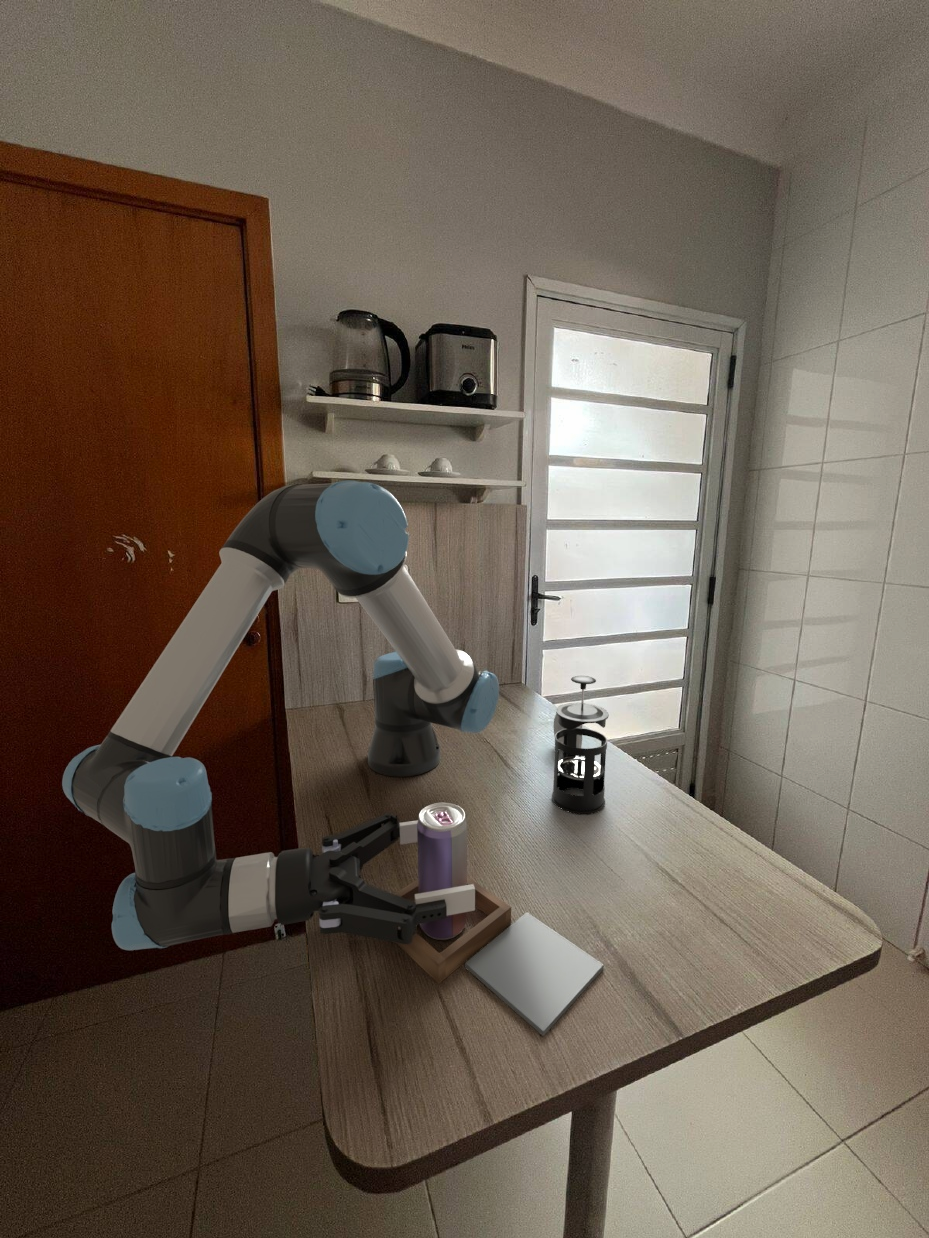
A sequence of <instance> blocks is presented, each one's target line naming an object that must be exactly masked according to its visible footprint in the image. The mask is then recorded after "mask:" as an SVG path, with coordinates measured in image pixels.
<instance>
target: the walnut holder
mask: <svg viewBox="0 0 929 1238" xmlns="http://www.w3.org/2000/svg"><path fill="white" fill-rule="evenodd" d="M471 884H473V885H474V887H475V908H477V909H478V910H480V911H481V912H482V913H484V914H485V915H486V917H485V918H483V919H482V920H481V921H480V922H478V923H477V924H476V925H475V926H473V927H472V928H470V929H469V930H467V932H465V933H464V934H462V935H461V936H460V937H458V939H456V940H455V941H453V942H452V943H451V944H450V945H448V946H447V947H446V948H445V949H443V950H442V951H441V952H438V951H437V950H436V949H435V948H434V947H433V946H432V945H431V944H429V943H428V942H427V941H426V940H425V939H424V938H423V937H422V936H421V935H419V934H418V933H417V932H416V933H415V934H414V935H413V939H412V942H411V943H409V944H401V943H396V944H397V945H398V946H399V948H401V949H402V950H403V951H404V952H405V953H406V954H407V955H408V956H409V957H410V958H411V959H412V960H413V961H415V963H416V964H417V965H419V967H420V968H421V969H423V970H424V971H425V973H427V974H428V975H429V976H430V977H431V978H432V979H433V980H434V981H435V982H436V983H437V984H441V983H442V982H443V981H445V980H446V978H448V977H449V976H450V975H452V974H453V973H454V972H455V971H456V970H458V969H459V968H460V967H461V966H462V965H465V963H466V962H467V961H468V960H469V959H470V958H472V957H473V956H474V955H475V954H477V953H478V952H479V951H480V950H481V949H483V948H484V947H485V946H486V945H487V944H489V943H490V942H491V941H492V940H494V939H495V938H496V937H497V936H498V935H500V934H501V933H502V932H503V931H504V930H506V929H507V928H508V927H509V926H511V925H512V906H511V905H509V904H508V903H506V902H505V901H504V900H502V899H501V898H499V897H498V896H496V895H495V894H493V893H492V892H491V891H489V890H488V889H486V888H485V887H484V886H482V885H480V884H479V883H478V882H476V881H475V880H474V879H472V878H471V877H469V876H468V875H467V885H471ZM393 894H394V895H397V896H400V897H402V898H405V899H408V900H410V901H413V902H415V894H419V892H418V878H417V879H416V880H414V881H412V882H411V883H409V884H408V885H406V886H404V887H403V888H401V889H400V890H398V891H396V892H395V893H393ZM398 929H399V930H400V927H398Z"/></svg>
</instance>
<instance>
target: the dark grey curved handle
mask: <svg viewBox="0 0 929 1238" xmlns="http://www.w3.org/2000/svg"><path fill="white" fill-rule="evenodd" d="M555 713H556V712H555ZM577 728H580V726H579V727H577ZM563 729H564V728H563V727H562V726H561V725H559V723H558V715H557V713H556V714H555V715H554V717H553V735H554V737H555V734H556V733H557V732H558V731H560V730H563ZM558 741H560V742H561V743H563V744H564V736H563V737H561V738H559V739H558ZM579 746H580V735H577V740H576V748H579ZM561 753H563V751H561Z"/></svg>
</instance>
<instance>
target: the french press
mask: <svg viewBox="0 0 929 1238" xmlns="http://www.w3.org/2000/svg"><path fill="white" fill-rule="evenodd" d="M570 680H571V681H572V683H576V684H580V686H579V687H580V690H581V702H567V703H564V704H560V705H558V706H557V707H556V708H555V713H557V715H558V723H559V725H561V726H562V727H563V728H564V729H563V730H560V731H558V732H557V733H556V734H555V736H554V757H553V758H554V759H553V760H554V762H553V763H554V764H553V781H552V782H553V784H552V785H553V786H552V787H553V788H552V789H553V790H552V793H551V800H553V801H552V802H554V803H555V804H556V805H557V806H558V807H560V808H562V809H563V810H562V809H561V810H562V811H564V810H565V811H564V812H566V811H569V812H568V813H570V812H571V813H570V814H574V813H575V814H574V815H581V814H587V815H592V814H591V813H593V814H596V813H595V812H597V811H599V812H601V811H602V810H603V809H604V808H603V807H605V806H604V805H605V804H606V799H605V788H606V787H605V776H606V775H605V774H606V773H605V772H606V760H607V759H606V758H607V757H606V756H607V748H608V738H607V737H606V735H604V734H603V733H601V732H599V731H596V730H593V729H589V728H583V725H586V724H598V725H599V726H600V727H602V728H606V720H608V718H609V711H608V710H607V709H606V708H604V707H602V706H600V705H599V706H598V705H597V704H596V705H595V704H592V703H584V699H585V690H586V689H587V685H592V684H595V683H596V682H597V679H596V678H594V677H592V676H588V675H576V676H573V677H571V678H570ZM579 726H580V728H577V727H579ZM577 735H580V746H579V748H576V740H577ZM563 736H564V744H563V743H561V742H560V741H558V739H559V738H561V737H563ZM583 736H584V737H585V736H587V737H590V738H594V739H596V740H598V741H600V743H601V744H600V746H597V747H593V748H590V747H589V748H582V745H583ZM562 751H563V752H562ZM560 752H562V758H561V759H559V757H560V755H559V754H560ZM596 756H600V760H599V761H600V762H598V761H596ZM572 789H573V790H582V795H579V794H572V793H568V792H566V791H567V790H572ZM554 803H553V804H554ZM555 804H554V805H555ZM556 805H555V806H556ZM557 806H556V807H557ZM558 807H557V808H558ZM560 808H559V809H560ZM602 808H603V809H602ZM601 809H602V810H601ZM600 810H601V811H600ZM597 813H598V812H597Z"/></svg>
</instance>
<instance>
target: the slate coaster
mask: <svg viewBox="0 0 929 1238" xmlns="http://www.w3.org/2000/svg"><path fill="white" fill-rule="evenodd" d="M464 968H465V969H466V970H467V971H468V972H469V973H470V974H472V975H473V977H475V978H476V979H477V980H479V981H480V982H481V983H482V984H483V985H484V986H486V987H487V988H488V989H489V990H490V991H491V992H492V993H494V994H495V996H497V997H498V998H499V999H500V1000H501V1001H502V1002H503V1003H504V1004H506V1006H509V1008H511V1010H513V1011H514V1012H515V1013H516V1014H517V1015H518V1016H520V1017H521V1018H522V1019H523V1020H524V1021H526V1023H527V1024H529V1025H530V1026H531V1027H532V1028H533V1029H534V1030H535V1031H537V1032H538V1034H539V1035H541V1036H542V1037H545V1036H546V1034H547V1033H548V1032H549V1031H550V1030H551V1028H552V1027H554V1025H555V1024H556V1023H557V1022H558V1021H559V1020H560V1018H561V1017H562V1016H563V1015H564V1014H565V1013H566V1012H567V1011H568V1009H569V1008H570V1007H571V1006H572V1005H573V1004H574V1003H575V1002H576V1000H577V999H578V998H579V997H580V996H581V995H582V994H583V993H584V991H585V990H586V989H587V988H588V987H589V986H590V985H591V983H592V982H594V981H595V979H596V978H597V977H598V976H599V975H600V974H601V972H602V971H604V964H603V963H602V962H600V961H599V960H597V959H596V958H595V957H593V956H592V955H591V954H589V953H588V952H586V951H584V950H583V949H582V948H580V947H579V946H577V945H575V944H574V943H573V942H571V941H570V940H568V939H567V938H565V937H564V936H563V935H561V934H559V933H558V932H556V931H555V930H554V929H553V928H552V927H549V926H548V925H546V924H545V923H544V922H542V921H541V920H539V919H538V918H536V917H535V916H534V915H532V914H531V913H529V912H528V911H527V912H525V913H524V914H523V915H521V916H520V917H519V918H518V919H516V921H514V922H513V923H511V925H510V926H509V927H507V928H506V929H505V930H504V931H502V932H501V933H500V934H499V935H498V936H496V937H495V938H494V939H493V940H492V941H490V942H489V943H488V944H487V945H485V946H484V947H483V948H482V949H481V950H479V951H478V952H477V953H476V954H475V955H473V956H472V957H471V958H470V959H468V960H467V961H466V962H465V963H464Z"/></svg>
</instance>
